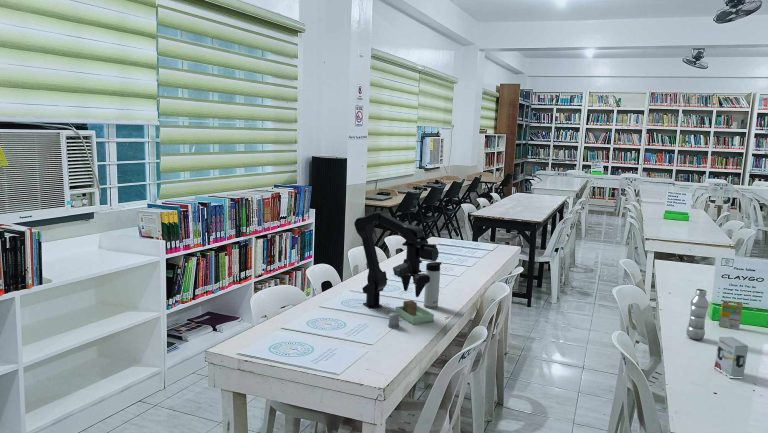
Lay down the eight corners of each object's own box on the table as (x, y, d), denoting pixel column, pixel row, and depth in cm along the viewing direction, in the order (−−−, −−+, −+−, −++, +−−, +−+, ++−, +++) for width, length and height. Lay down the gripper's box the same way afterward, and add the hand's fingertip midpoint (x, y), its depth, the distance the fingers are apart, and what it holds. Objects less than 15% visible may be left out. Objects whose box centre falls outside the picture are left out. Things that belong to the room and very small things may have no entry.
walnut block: (402, 312, 242) (403, 301, 241) (411, 311, 244) (411, 300, 243) (407, 315, 238) (408, 304, 238) (416, 314, 240) (416, 302, 240)
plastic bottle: (702, 337, 231) (708, 289, 228) (705, 343, 225) (712, 293, 222) (684, 334, 233) (690, 286, 230) (687, 340, 227) (693, 291, 224)
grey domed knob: (385, 325, 228) (386, 313, 227) (395, 323, 230) (396, 311, 229) (391, 329, 224) (392, 316, 223) (401, 327, 226) (402, 315, 225)
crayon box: (738, 328, 245) (742, 301, 243) (739, 330, 242) (743, 303, 240) (718, 324, 248) (722, 298, 246) (719, 326, 245) (723, 300, 243)
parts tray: (395, 313, 242) (395, 306, 241) (415, 311, 247) (415, 304, 246) (412, 324, 230) (412, 317, 229) (433, 321, 235) (433, 314, 234)
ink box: (713, 368, 201) (718, 335, 199) (726, 368, 201) (731, 336, 199) (730, 379, 192) (735, 345, 190) (743, 379, 193) (749, 345, 191)
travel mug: (437, 309, 250) (440, 264, 247) (422, 307, 252) (425, 263, 248) (439, 305, 256) (442, 261, 253) (424, 303, 258) (427, 260, 254)
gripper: (385, 253, 241) (383, 289, 244) (408, 264, 225) (406, 302, 228) (408, 252, 247) (406, 287, 249) (431, 262, 231) (429, 299, 233)
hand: (411, 294), depth 240 cm, fingers open, 9 cm apart
